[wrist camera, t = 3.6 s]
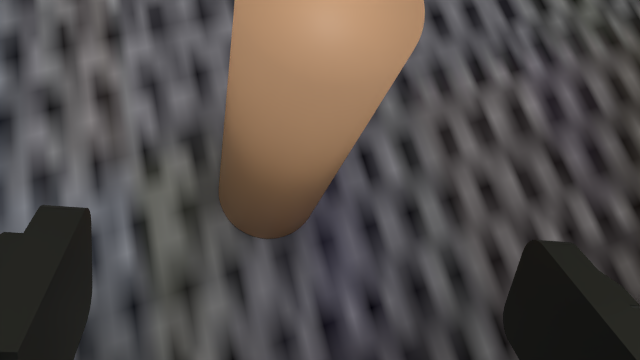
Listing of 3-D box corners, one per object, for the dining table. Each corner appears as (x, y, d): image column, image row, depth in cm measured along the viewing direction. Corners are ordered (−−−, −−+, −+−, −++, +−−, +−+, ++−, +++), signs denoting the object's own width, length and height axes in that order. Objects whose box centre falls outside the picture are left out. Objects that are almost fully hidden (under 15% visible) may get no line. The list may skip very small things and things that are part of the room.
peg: (254, 128, 23) (302, -112, 12) (333, 180, 23) (455, -15, 12) (199, 203, 22) (196, 11, 11) (282, 257, 22) (366, 120, 11)
